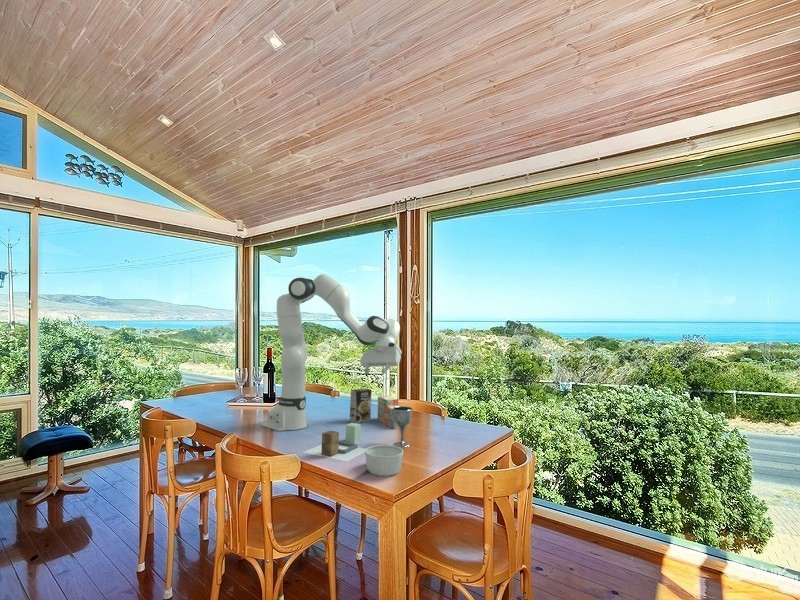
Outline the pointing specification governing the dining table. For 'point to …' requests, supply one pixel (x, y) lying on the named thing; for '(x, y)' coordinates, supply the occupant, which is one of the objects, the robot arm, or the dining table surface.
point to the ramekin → (383, 459)
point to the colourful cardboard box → (387, 410)
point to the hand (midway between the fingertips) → (374, 372)
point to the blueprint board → (340, 451)
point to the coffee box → (360, 405)
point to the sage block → (353, 432)
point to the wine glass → (402, 421)
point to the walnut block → (330, 443)
